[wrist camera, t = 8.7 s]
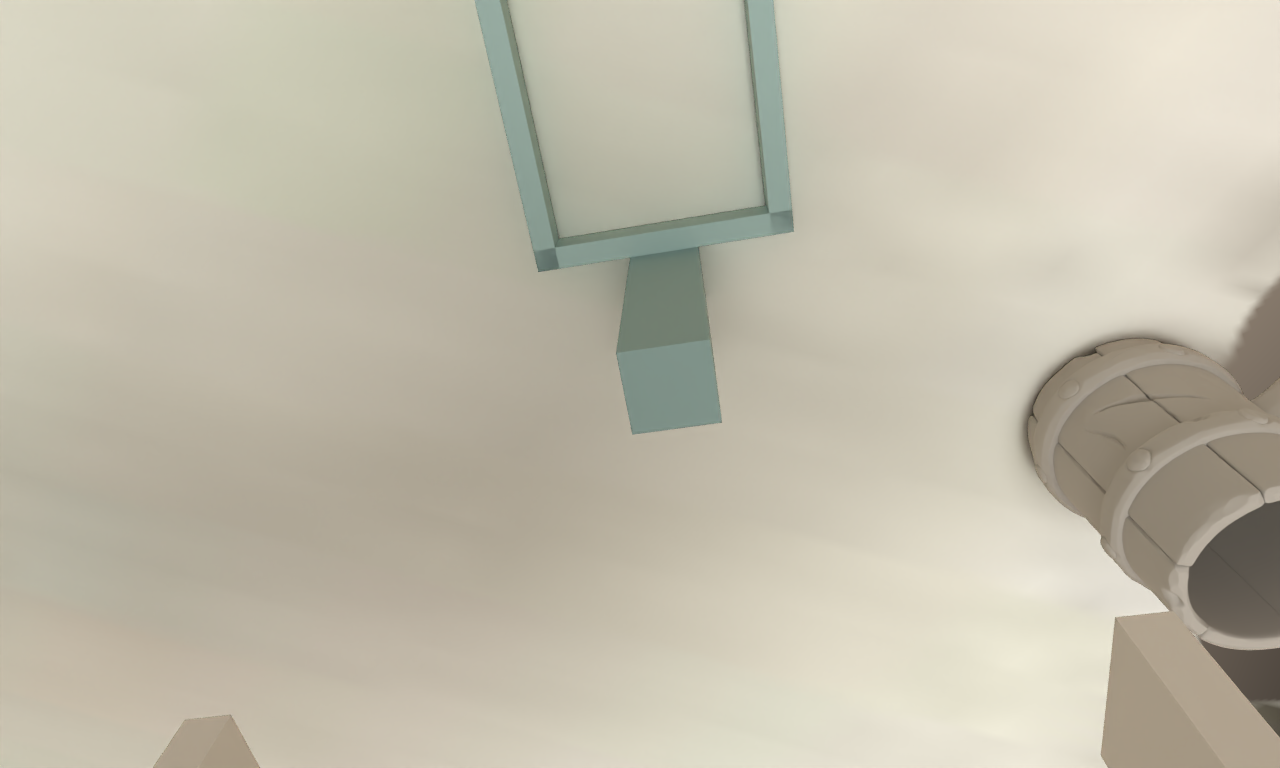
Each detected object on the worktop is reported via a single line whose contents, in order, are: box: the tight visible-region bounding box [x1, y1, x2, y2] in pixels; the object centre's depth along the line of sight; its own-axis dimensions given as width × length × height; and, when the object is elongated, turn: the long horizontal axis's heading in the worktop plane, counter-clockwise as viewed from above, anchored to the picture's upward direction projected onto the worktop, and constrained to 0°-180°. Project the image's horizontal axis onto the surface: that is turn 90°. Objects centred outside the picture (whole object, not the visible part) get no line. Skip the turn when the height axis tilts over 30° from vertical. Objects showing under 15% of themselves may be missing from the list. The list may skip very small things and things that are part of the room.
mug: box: [1028, 339, 1280, 650], centre depth 27 cm, size 8×12×12 cm, turn 122°
